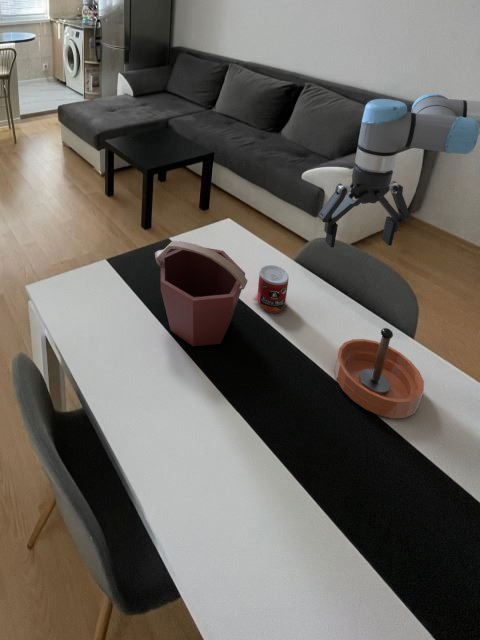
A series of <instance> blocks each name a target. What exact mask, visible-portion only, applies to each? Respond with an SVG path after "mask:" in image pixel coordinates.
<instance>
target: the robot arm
mask: <svg viewBox="0 0 480 640" xmlns="http://www.w3.org/2000/svg"><path fill="white" fill-rule="evenodd" d="M479 136H480V100H467V99H453V98H448V97H446V96H445V95H442V94H439V93H427V94H424V95H421V96H420V97H418V98H416V100H415V101H414V102H413V104H412V106H411V111H408V105H407V104H406V103H405V102H402V101H401V100H394V99H391V98H377V99H371V100H369V101H368V102H367V103H366V104H365V107H364V111H363V115H362V118H361V124H360V130H359V136H358V140H357V141H358V142H357V148H356V154H355V159H354V164H353V168H352V174H351V183H350V185H343V184H342V183H337V184H336V187H335V190H334V192H333V194H332V195H331V196H330V197H329V199H328V200H327V202H325V204H324V206H323V207H322V208H321V209H320V211H319V212H318V213H317V217H318V218H319V219H320V220H321V222H322V223H324V228H323V230H324V231H323V232H324V233H325V234H326V235H325V242H326V244H327V245H328V246H329V247H330V248H335V244H336V239H337V234H338V233H337V232H338V228H339V227H338V226H339V224H337V222H338V221H339V220H341V219H342V218H343V217H344V216H345V215H346V214H347V213H349V212H350V211H351V210H352V209H353V208H354V207H358V206H359V205H360V204H362V205H366V204H377V202H378V203H380V205H381V206H382V207H383V208H384V210H385V211H386V212H387V213H388V216H386V217H385V221H384V222H385V223H384V226H383V231H382V234H381V240H382V241H383V242H384V243H385V244H386V245H387V246H392V244H393V241H394V236H395V233H398V231H399V227H400V225H402V224H404V223H405V220H410V219H411V218H412V217H411V213H410V211H409V209H408V205H407V203H406V199H405V197H404V195H403V193H404V186H403V185H401V184H400V183H398V181H395V180H393V181H392V178H393V174H394V168H395V165H396V161H397V155H398V151H399V148H400V147H403V148H411V149H417V150H418V149H419V150H426V151H434V152H441V153H446V154H457V155H467V154H470V153H471V152H473V151H474V149H475V148H476V145H477V143H478V139H479ZM389 192H390V194H391V196H392V199H393V202H394V205H395V207H396V209H397V210H395V208H394V207H393V206H392V205H391V203H390V202H389V200H388V199H387V198H386V197H385V195H387V194H388V193H389ZM353 198H354V199H355V200H354V199H353Z"/></svg>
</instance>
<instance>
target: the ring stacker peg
mask: <svg viewBox="0 0 480 640" xmlns="http://www.w3.org/2000/svg"><path fill="white" fill-rule="evenodd" d="M380 334H381V337H380V340H379V343H380V344H379V348H378V352H377V356H376V360H375V364H374V368H373V370H372V369H364V370H362V371H361V372H360V375H359V381H360V383H361V385H362V386H363V387H365V388H366V389H368V390H370V391H372V392H374V393H376V394H379V395H381V396H383V395H386V394H388V393H389V390H390V383H389V381H388V379H387V378H386V377H385V376H384V375H383V374H381V372H382V368H383V365H384V361H385V357H386V353H387V349H388V346H389V345H390V341H391V340H392V338H393V337H394V333H393V331H392V330H391V329H390V328H388V327H384V328H383V327H382V328H381V330H380ZM389 347H390V346H389Z"/></svg>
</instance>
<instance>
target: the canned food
mask: <svg viewBox="0 0 480 640" xmlns="http://www.w3.org/2000/svg"><path fill="white" fill-rule="evenodd" d="M289 277H290V276H289V274H288V272H287V270H285V269H284V268H283V267H280V266H278V265H274V264H267V265H264V266H262V267H261V268H260V270H259V276H258V283H257V293H256V295H257V296H256V300H257V304H258V305H259V307H260V308H261V309H262V310H264V311H266V312H267V313H274V314H275V313H280V312H281V311H283V310H284V308H285V307H286V299H287V292H288V286H289Z"/></svg>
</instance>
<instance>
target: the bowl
mask: <svg viewBox="0 0 480 640" xmlns="http://www.w3.org/2000/svg"><path fill="white" fill-rule="evenodd" d="M379 344H380V341H376V340H371V339H366V338H356V339H355V338H354V339H349V340H348V341H345V342H343V343H342V344H341V346H340V347H338V352H337V357H336V362H335V367H334V375H335V380H336V382H337V383H338V385H339V387H340V389H341V390H342V392H344V393H345V394H346V395H347V396H348V398H349V399H351V400H352V401H353V402H354V403H355V404H357V405H359V406H360V407H361V408H363V409H365V410H366V411H367V412H371V413H372V414H375V415H378V416H380V417H383V418H389V419H407V418H408V417H410V416H412V415H414V414H415V413H416V412H417V410H418V408H419V407H420V403H421V400H422V398H423V394H424V391H425V383H424V382H425V381H424V379H423V377H422V374H421V372H420V370H419V369H418V368H417V367H416V366H415V365H414V363H413V362H412V360H410V359H409V358H408V357H406V356H405V355H404V354H402V353H401V352H400V351H398V350H397V349H394V348H393V347H391V346H388V349H387V353H386V357H385V361H384V365H383V368H382V372H381V374H383V375H384V376H385V377H386V378H387V379H388V381H389V383H390V390H389V393H388V394H386V395H383V396H381V395H379V394H376V393H374V392H372V391H370V390H368V389H366V388H365V387H363V386H362V385H361V383H360V381H359V375H360V372H361V371H362V370H364V369H372V370H373V368H374V364H375V360H376V356H377V352H378V348H379Z"/></svg>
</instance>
